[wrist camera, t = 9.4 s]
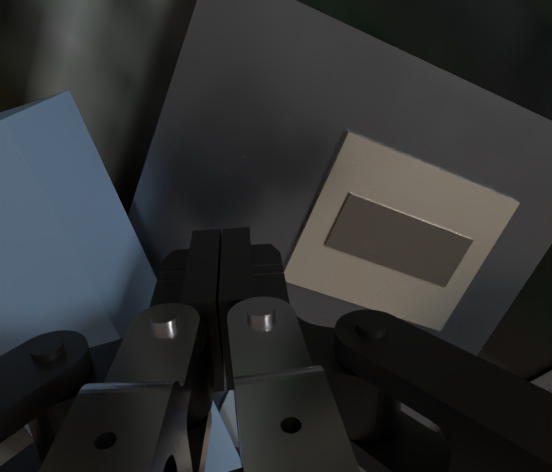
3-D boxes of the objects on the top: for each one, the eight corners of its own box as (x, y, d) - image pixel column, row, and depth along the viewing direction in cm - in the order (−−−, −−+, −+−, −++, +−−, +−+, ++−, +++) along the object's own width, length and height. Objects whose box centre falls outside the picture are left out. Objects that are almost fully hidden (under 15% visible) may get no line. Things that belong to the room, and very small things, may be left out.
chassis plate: (314, 566, 24) (320, 605, 22) (33, 517, 20) (17, 558, 19) (587, 141, 16) (625, 154, 15) (211, -35, 13) (209, -43, 12)
